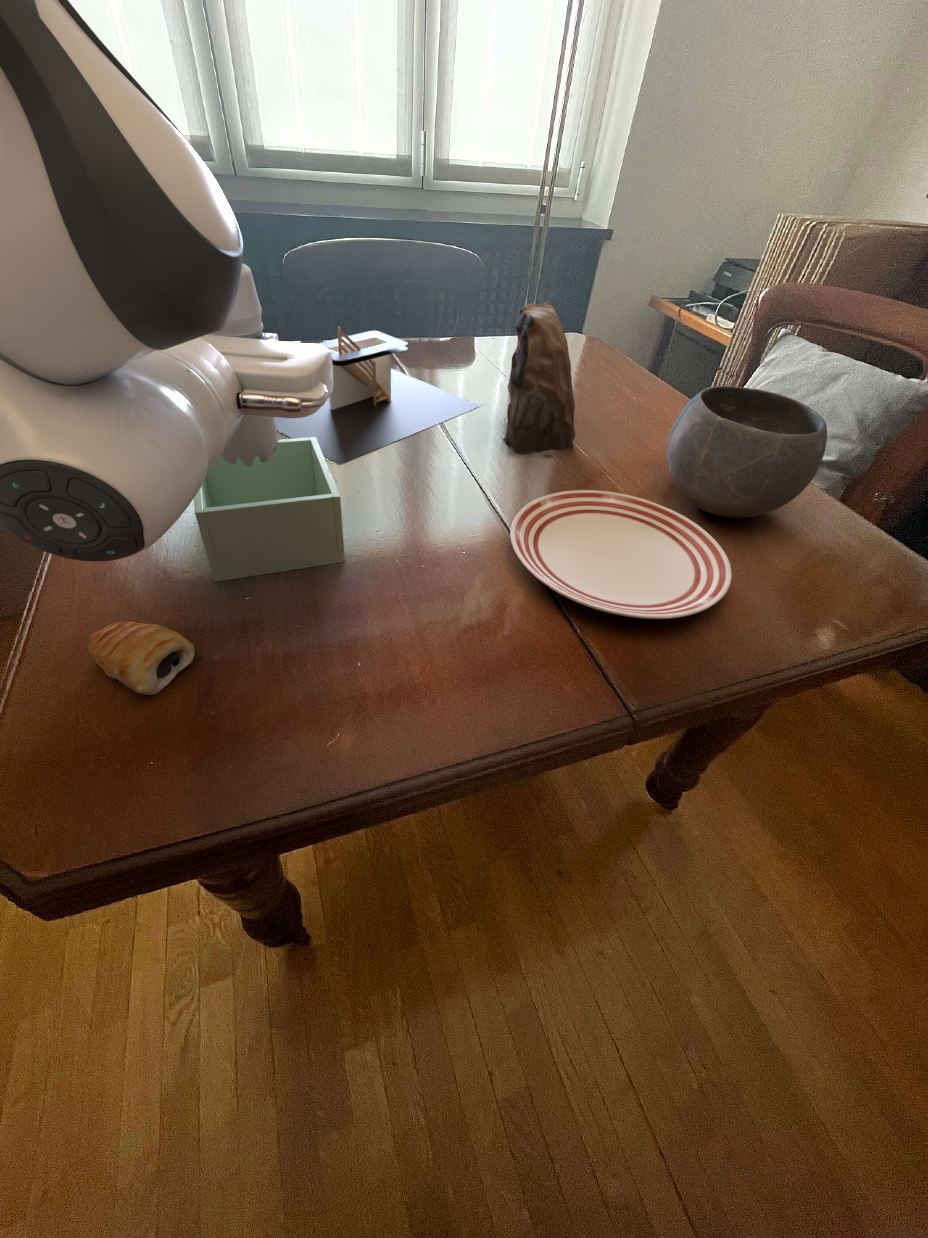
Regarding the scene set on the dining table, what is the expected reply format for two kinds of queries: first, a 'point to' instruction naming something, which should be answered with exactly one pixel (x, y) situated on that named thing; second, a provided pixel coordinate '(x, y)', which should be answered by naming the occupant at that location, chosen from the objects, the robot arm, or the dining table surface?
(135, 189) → the robot arm
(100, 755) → the dining table surface
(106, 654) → the pastry
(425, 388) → the architectural model
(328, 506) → the open storage bin
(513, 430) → the brown carved statue
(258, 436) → the bottle
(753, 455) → the bowl
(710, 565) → the dinner plate
